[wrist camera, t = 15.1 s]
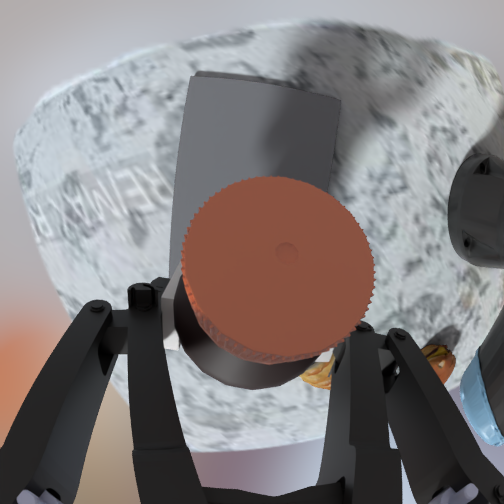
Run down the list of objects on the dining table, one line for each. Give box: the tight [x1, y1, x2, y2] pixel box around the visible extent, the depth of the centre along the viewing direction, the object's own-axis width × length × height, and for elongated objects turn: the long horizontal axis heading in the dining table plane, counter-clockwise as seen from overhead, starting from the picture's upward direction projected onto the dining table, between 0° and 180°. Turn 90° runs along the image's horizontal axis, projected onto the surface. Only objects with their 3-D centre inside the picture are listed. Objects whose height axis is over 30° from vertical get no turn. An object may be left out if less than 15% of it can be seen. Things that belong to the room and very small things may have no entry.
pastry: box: [300, 353, 335, 390], centre depth 31 cm, size 9×7×4 cm
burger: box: [421, 344, 456, 384], centre depth 33 cm, size 10×9×5 cm
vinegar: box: [173, 176, 376, 390], centre depth 15 cm, size 7×7×20 cm
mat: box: [169, 76, 341, 279], centre depth 25 cm, size 14×24×1 cm, turn 172°
